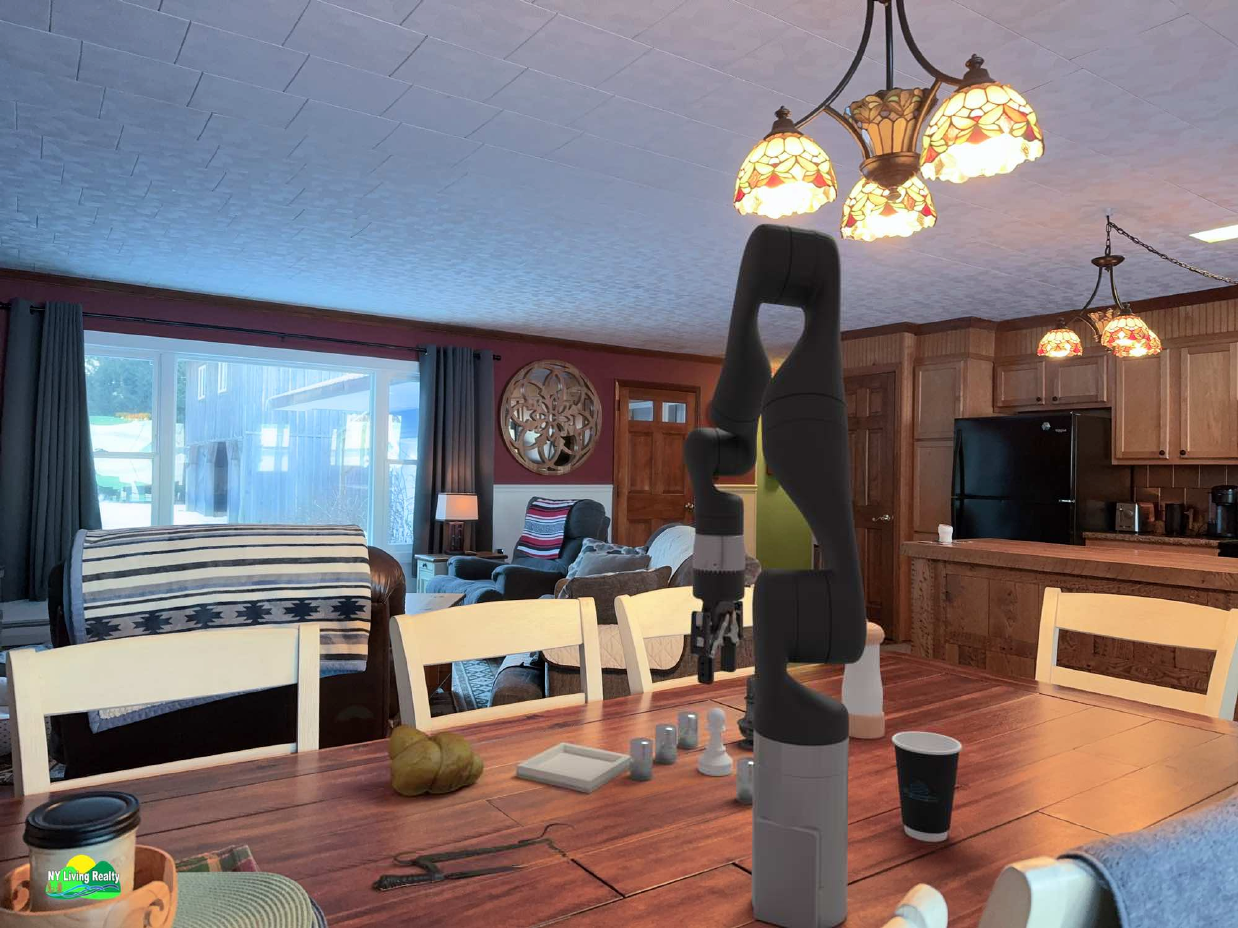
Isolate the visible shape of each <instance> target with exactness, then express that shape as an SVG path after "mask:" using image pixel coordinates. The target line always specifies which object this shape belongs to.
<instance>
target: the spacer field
mask: <svg viewBox="0 0 1238 928" xmlns="http://www.w3.org/2000/svg"><path fill="white" fill-rule="evenodd" d="M654 731H655V732H654V733H655V734H654V736H655V737H654V741H653V739H651V738H647V737H634V738H631V739H630V740H629V755H630V768H629V779H631V780H632V781H636V782H645V781H650V780H652V779H653V750H654V761H655V763H657V764H660V765H673V764H675V763H677V747H678V748H679V749H683V750H695V749H698V747H699V713H697V711H696V712H695V711H689V710H688V711H687V710H684V711H679V712H678V713H677V725H675V724H671V723H659V724H656V725H655V727H654ZM653 744H654V745H653ZM653 747H654V749H653ZM736 801H738V802H739V803H741V804H745V805H753V757H752V756H749V757H747V756H744V757H739V758H738V759H736Z"/></svg>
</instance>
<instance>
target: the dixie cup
mask: <svg viewBox="0 0 1238 928" xmlns="http://www.w3.org/2000/svg"><path fill="white" fill-rule="evenodd" d="M891 742H892V743H893V744H894V753H895V764H896V773H897V774H896V775H897V782H898V785H897V786H898V792H899V794H898V795H899V803H900V804H899V805H900V812H901V822H902V825H904V826H903V827H904V833H905V834H906V835H908V836H909V837H911V838H913V839H916V840H919V841H923V842H931V843H932V842H942V841H945V840H947V838H948V832H949V830H950V829H951V823H952V822H951V821H952V815H953V807H954V806H953V805H954V800H955V799H954V798H955V790H956V783H957V781H956V780H957V774H958V767H959V758H960V757H959V756H960V751H961V750H962V749H963V746H962V744H961V742H960V741H959V740H957V739H955V738H952V737H950V736H947V735H944V734H939V733H935V732H928V731H902V732H898V733H896V734H894V735H893V736H892V737H891Z"/></svg>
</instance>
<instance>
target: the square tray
mask: <svg viewBox="0 0 1238 928" xmlns="http://www.w3.org/2000/svg"><path fill="white" fill-rule="evenodd" d="M628 770H630V754H626V753H625V754H624V753H619V752H614V751H609V750H604V749H599V748H594V747H590V746H586V745H585V746H584V745H578V744H574V743H569V742H560V743H559V744H558V743H557V744H556V745H555V746H552V747H551V748H548V749H546V750H544V751H542V752H540V753H538V754H536V755H534V756H532V757H530V758H528V759H526V760H524V761H522V762H520V763H518V764H516V770H515V776H516V778H521V779H524V780H529V781H533V780H534V782H537V783H538V782H539V783H542V784H547V785H550V786H554V787H560V788H564V789H569V790H573V791H579V792H582V793H586V794H591V793H592V792H594V791H596V790H597V789H599V788H601V787H602V786H604V785H606V784H607V783H609V782H610V781H612V780H614V779H615V778H616V777H618V776H620V775H621V774H623V773H625V772H626V771H628Z"/></svg>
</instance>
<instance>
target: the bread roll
mask: <svg viewBox="0 0 1238 928" xmlns="http://www.w3.org/2000/svg"><path fill="white" fill-rule="evenodd" d="M387 754H388V757H389V758H390V760H391V762H390V764H389V770H390V772H389V773H390V775H389V776H390V781H391V783H392V787H393V789H394V790H396V791H397V793H399V794H400V795H403V796H409V797H411V796H417V795H421V794H424V793H425V792H427V791H428V792H429V794H444V793H449V792H453V791H456V790H458V789H459V788H461V787H464V786H469V785H471V784H472V783H474V782H476V781H477V780H478V779H479V778H480V777H481V775H482V774H483V773H484V768H485V762H484V761H483V759H482V757H481V756H479V754H478V753H476V752H473V750H472V747H471V744H470V743H469V742H468V740H467V739H466V738H463V736H461V735H459V734H458V733H457V734H456V733H452V732H440V733H436V734H433V735H431V736H430V735H429V734H427V733H425V732H424V731H421V730H420V729H418V728H415V727H414V726H412V725H409V724H405V723H404V724H401V725H398V726H396V727H395V728H394V729H392V732H391V735H390V738H389V740H388V743H387Z"/></svg>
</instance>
